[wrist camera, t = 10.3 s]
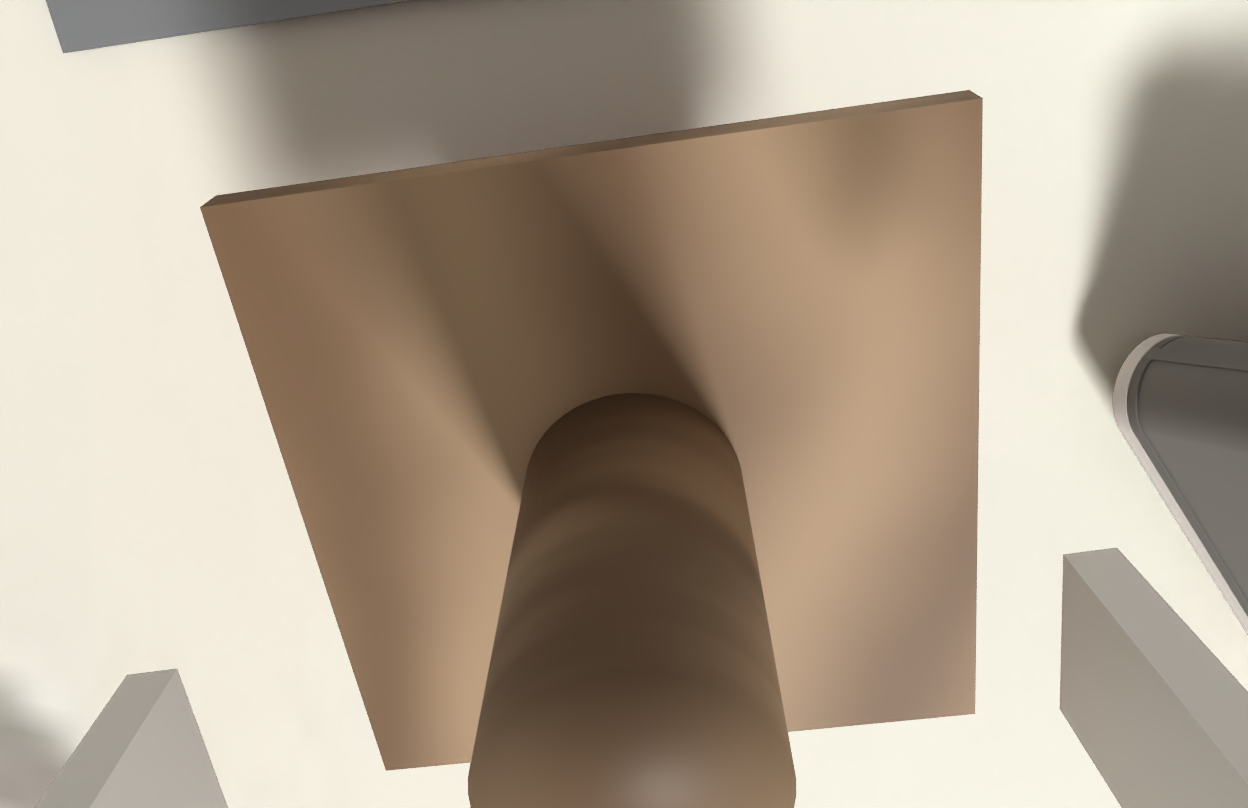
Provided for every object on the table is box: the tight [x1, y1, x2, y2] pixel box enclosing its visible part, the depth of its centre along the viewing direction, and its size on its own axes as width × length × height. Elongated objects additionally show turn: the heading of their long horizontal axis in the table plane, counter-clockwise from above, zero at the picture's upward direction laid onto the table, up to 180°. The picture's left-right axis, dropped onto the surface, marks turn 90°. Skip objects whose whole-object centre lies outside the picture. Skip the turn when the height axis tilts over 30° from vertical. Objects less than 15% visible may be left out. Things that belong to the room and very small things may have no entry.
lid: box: [200, 90, 982, 808], centre depth 18 cm, size 14×14×9 cm
